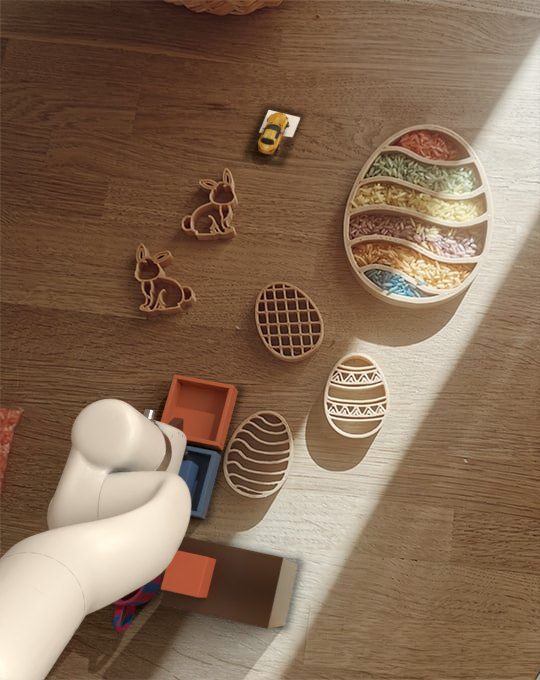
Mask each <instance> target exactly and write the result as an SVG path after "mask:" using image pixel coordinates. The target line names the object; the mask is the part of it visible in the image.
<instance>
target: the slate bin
mask: <svg viewBox="0 0 540 680" xmlns="http://www.w3.org/2000/svg"><path fill="white" fill-rule="evenodd" d="M186 447H187V448H188V451H187V452H188V453H189V454H188V456H189V457H191V458H192V459H193V460H195V461H194V463H195V464H196V465H198V466H199V469H198V473H197V477H196V481H195V484H194V488H193V492H192V496H191V515H190V517H192V518H197V519H200V520H201V519H202V520H206V517H207V513H208V510H209V509H208V508H209V505H210V501H211V497H212V494H213V489H214V486H215V481H216V479H217V474H218V470H219V466H220V462H221V459H222V456H221V455H220V454H219V453H218V452H217V451H216V450H215V451H214V450H209V449H204V448H200V447H194V446H190V445H186Z"/></svg>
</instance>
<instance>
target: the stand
mask: <svg viewBox="0 0 540 680" xmlns="http://www.w3.org/2000/svg"><path fill="white" fill-rule="evenodd" d="M178 551H182V552H187V553H192V554H196V555H201V556H206V557H210V558H213V559H216V563H215V567H214V571H213V575H212V579H211V583H210V587H209V591H208V595H207V598H200V597H193V596H189V595H184V594H180V593H175V592H171V591H166V590H163V594H162V597H161V601H160V605H161V606H165V607H169V608H173V609H178V610H183V611H187V612H193V613H195V614H201V615H205V616H209V617H214V618H218V619H222V620H226V621H231V622H237V623H240V624H245V625H248V626H249V625H250V626H254V627H258V628H259V627H260V628H262V629H267V630H268V629H273V628H278V627H279V628H280V627H284V626H286V622H287V618H288V613H289V609H290V604H291V599H292V596H293V590H294V587H295V586H294V585H295V580H296V576H297V572H298V568H299V567H298V566H299V565H298V564H297V563H295V562H293V561H291V560H289V559H287V558H286V557H283V556H278V555H274V554H269V553H264V552H259V551H255V550H250V549H245V548H240V547H236V546H231V545H226V544H223V543H218V542H212V541H209V540H203V539H198V538H194V537H189V536H186V535H185V536H184V538H183V540H182V542H181V544H180V546H179V548H178Z"/></svg>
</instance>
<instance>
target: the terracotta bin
mask: <svg viewBox="0 0 540 680" xmlns="http://www.w3.org/2000/svg"><path fill="white" fill-rule="evenodd" d="M238 393H239V391H238V389H237V388H236V386H235V385H234V384H230V383H224V382H218V381H213V380H208V379H203V378H197V377H191V376H187V375H182V374H181V375H180V374H173V378H172V381H171V385H170V388H169V391H168V394H167V398H166V401H165V405H164V409H163V411H162V414H161V418H160V421H159V422H162V423H165V424H168V423H169V422H170V421H171V420H172V419H173V418H174V417H176V418H181V419H184V424H183V431H182V432H183V433H184V434H185V436H186V438H187V442H186V445H191V446H196V447H202V448H207V449H211V450H215V451H216V450H217V451H222V452H223V450H224V447H225V444H226V440H227V435H228V431H229V428H230V424H231V420H232V416H233V412H234V408H235V405H236V401H237V397H238Z"/></svg>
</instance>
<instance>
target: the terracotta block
mask: <svg viewBox="0 0 540 680" xmlns="http://www.w3.org/2000/svg"><path fill="white" fill-rule="evenodd" d="M215 563H216V559H213V558H210V557H206V556H201V555H196V554H192V553H187V552H182V551H178V550H177V552H176V554H175V556H174V558H173V559H172V561H171V563H170V564H169V565H168V567H167V568H166V569H165V570H164V574H163V579H162V581H161V584H160V590H162V591H164V590H166V591H171V592H175V593H180V594H184V595H189V596H193V597H200V598H207V595H208V591H209V587H210V583H211V579H212V575H213V571H214V567H215Z"/></svg>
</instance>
